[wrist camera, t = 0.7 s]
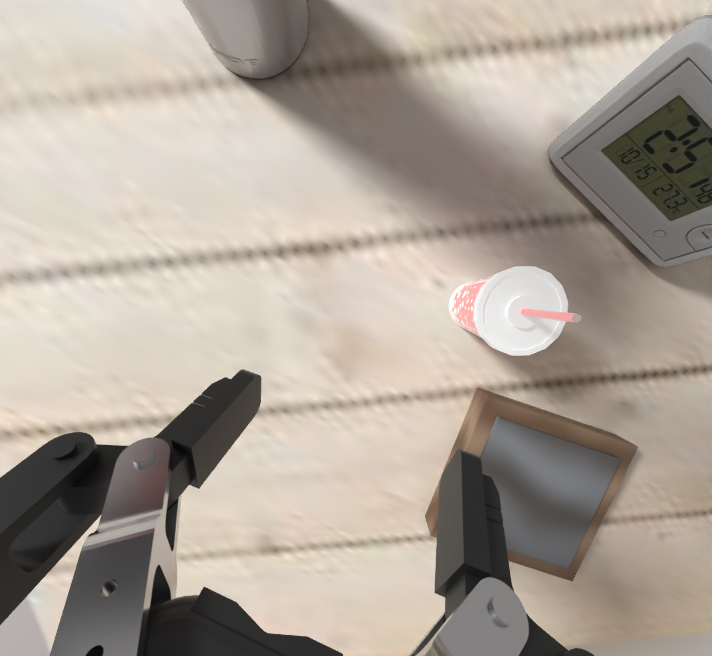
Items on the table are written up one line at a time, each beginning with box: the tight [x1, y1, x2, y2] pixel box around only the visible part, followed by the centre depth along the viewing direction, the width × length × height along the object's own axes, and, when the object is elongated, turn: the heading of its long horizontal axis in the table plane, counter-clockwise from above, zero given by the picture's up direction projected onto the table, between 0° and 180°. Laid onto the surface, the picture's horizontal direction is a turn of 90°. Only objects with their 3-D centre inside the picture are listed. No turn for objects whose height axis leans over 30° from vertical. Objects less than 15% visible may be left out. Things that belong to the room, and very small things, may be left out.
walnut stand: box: [425, 388, 638, 581], centre depth 29 cm, size 15×15×3 cm
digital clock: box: [548, 15, 712, 267], centre depth 22 cm, size 16×9×11 cm, turn 37°
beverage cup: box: [449, 266, 581, 356], centre depth 22 cm, size 6×6×14 cm
